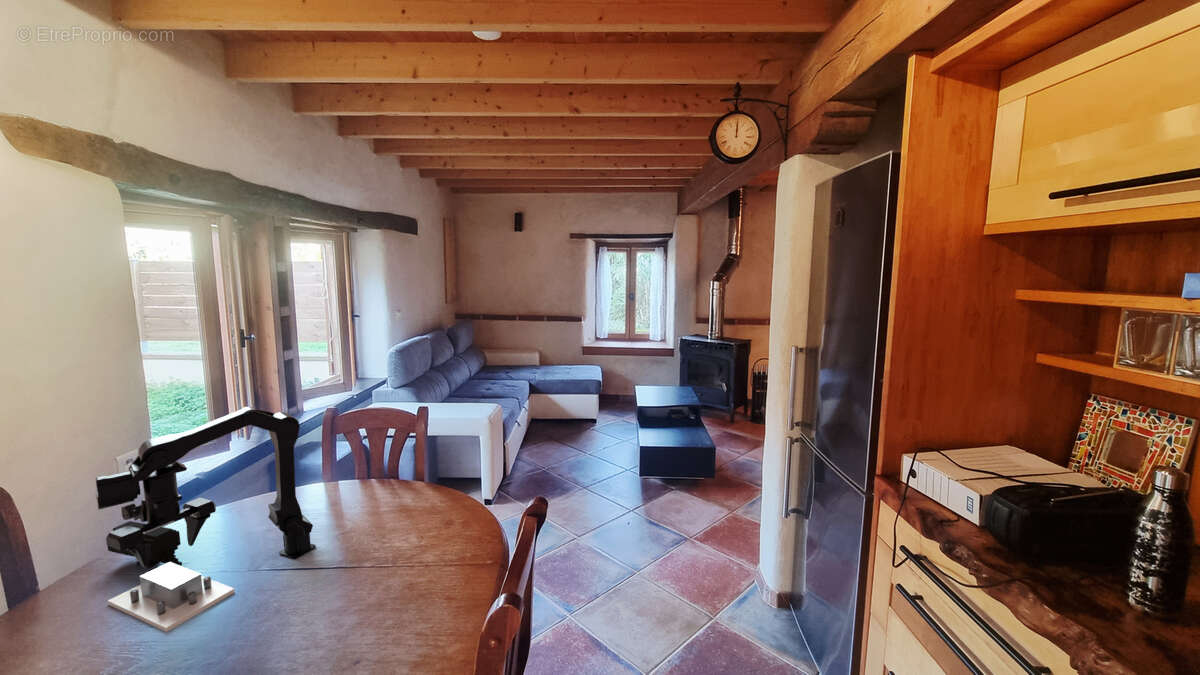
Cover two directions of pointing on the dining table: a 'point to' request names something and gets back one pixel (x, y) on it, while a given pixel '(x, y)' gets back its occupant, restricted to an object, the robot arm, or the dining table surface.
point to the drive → (170, 584)
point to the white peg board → (165, 615)
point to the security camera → (155, 545)
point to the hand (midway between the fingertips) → (168, 555)
